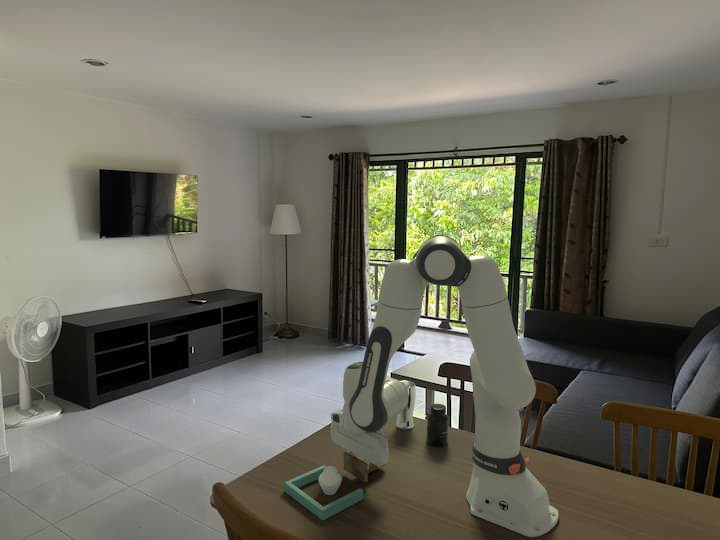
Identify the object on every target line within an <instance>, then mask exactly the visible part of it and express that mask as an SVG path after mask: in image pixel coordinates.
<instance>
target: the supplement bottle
mask: <svg viewBox="0 0 720 540" xmlns="http://www.w3.org/2000/svg"><path fill="white" fill-rule="evenodd" d="M429 410H430V412H429V413H428V414H427V418H426V442H427V444H429V445H431V446H432V447H433V446H434V447H444V446H446V445H448V443H449V425H450V424H449V420H450V418H449V415H448V414H447V407H446V405H445V404H441V403H433V404H430V409H429Z"/></svg>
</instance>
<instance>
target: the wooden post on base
mask: <svg viewBox="0 0 720 540" xmlns="http://www.w3.org/2000/svg"><path fill="white" fill-rule="evenodd" d="M355 456H356V455H355ZM355 456H353V455H351V454H348V453H347V451H345V452H343V470H344V471H345V472H347V473H349V474H351V475H352V476H354V477H356V478H357V479H359V480H361V481H362V482H363V483H368V480H369V475H368V474H370V473H372V472H374V471H375V470H378V469H379V468H382V467H384V466H386V464H387V463H386V464H384V465H382V466H376V465H375V464H373V463H371V462H370V464H369V470H368V464H367V463H365V462H364V461H363V458H362V457H360V456H356V457H355Z"/></svg>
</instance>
